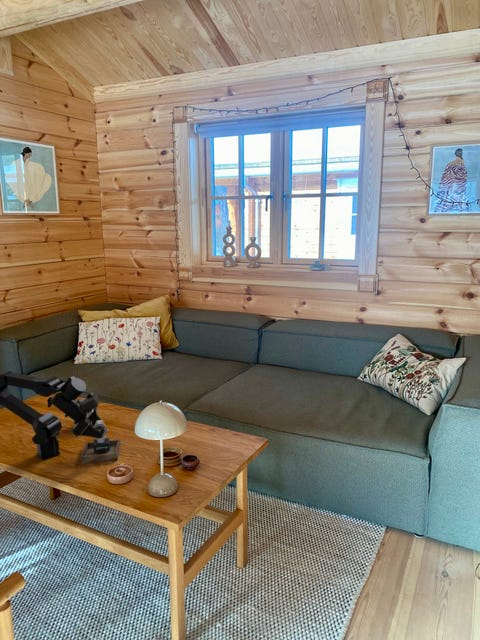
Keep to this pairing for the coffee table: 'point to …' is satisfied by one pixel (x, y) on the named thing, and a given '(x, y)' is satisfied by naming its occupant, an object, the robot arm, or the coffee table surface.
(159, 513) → the coffee table surface
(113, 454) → the valet tray
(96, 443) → the watch
